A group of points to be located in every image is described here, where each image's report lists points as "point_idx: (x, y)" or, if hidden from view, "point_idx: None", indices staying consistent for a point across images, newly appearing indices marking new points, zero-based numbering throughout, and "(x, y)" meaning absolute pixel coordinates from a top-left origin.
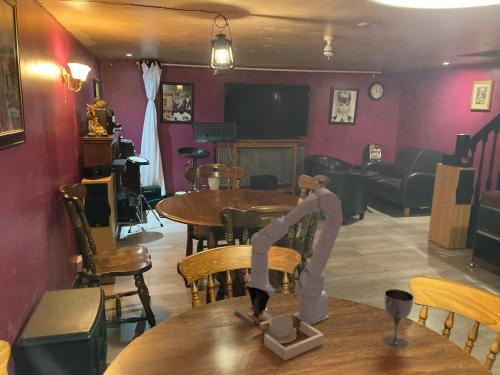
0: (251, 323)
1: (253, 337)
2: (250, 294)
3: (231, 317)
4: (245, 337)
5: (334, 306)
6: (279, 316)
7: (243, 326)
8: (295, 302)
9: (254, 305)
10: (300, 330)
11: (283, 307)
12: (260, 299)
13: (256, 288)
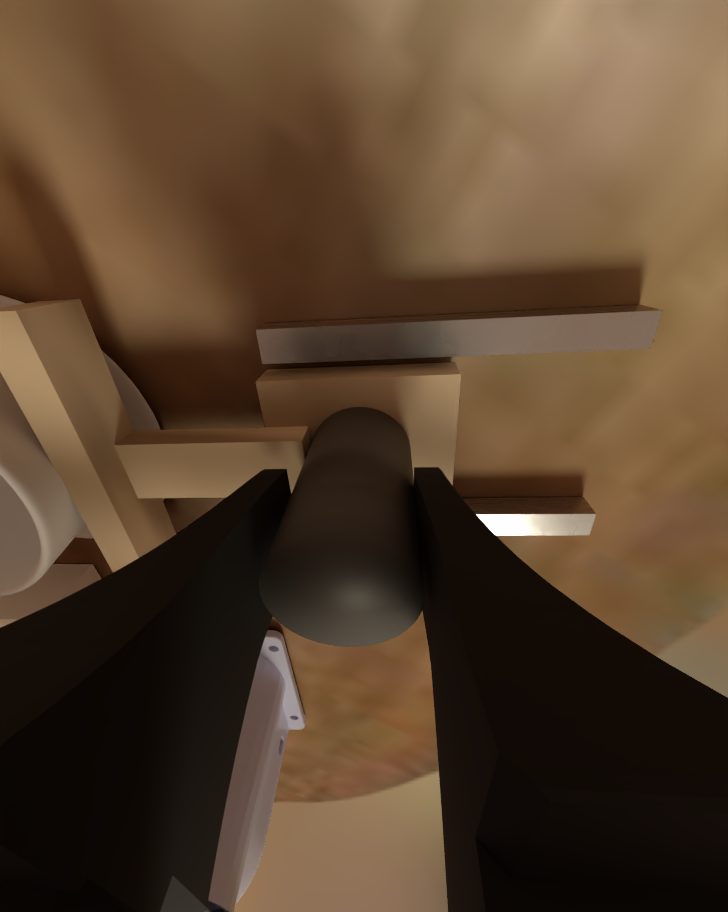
0: (304, 321)
1: (35, 173)
2: (483, 586)
3: (577, 177)
4: (45, 61)
5: (282, 768)
6: (40, 554)
7: (300, 202)
8: (418, 706)
9: (351, 474)
10: (85, 566)
11: (409, 643)
12: (44, 610)
13: (458, 824)
